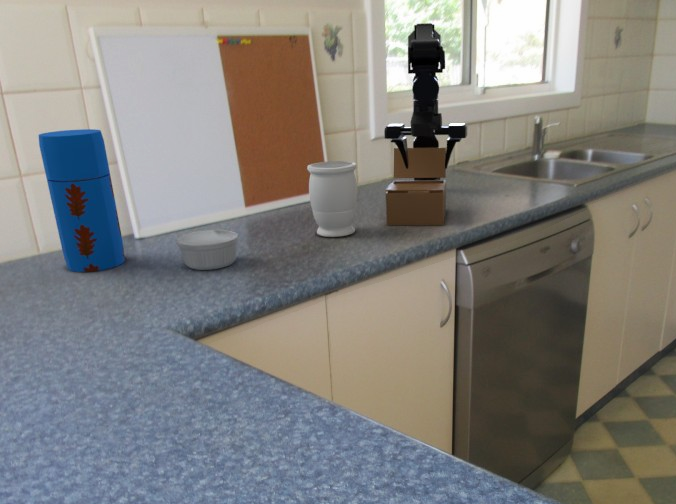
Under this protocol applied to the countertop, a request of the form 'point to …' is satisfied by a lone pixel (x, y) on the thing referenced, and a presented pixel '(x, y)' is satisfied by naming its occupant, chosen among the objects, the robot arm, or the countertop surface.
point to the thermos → (82, 199)
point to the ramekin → (208, 249)
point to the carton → (416, 202)
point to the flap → (421, 163)
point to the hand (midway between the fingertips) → (426, 168)
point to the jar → (333, 197)
